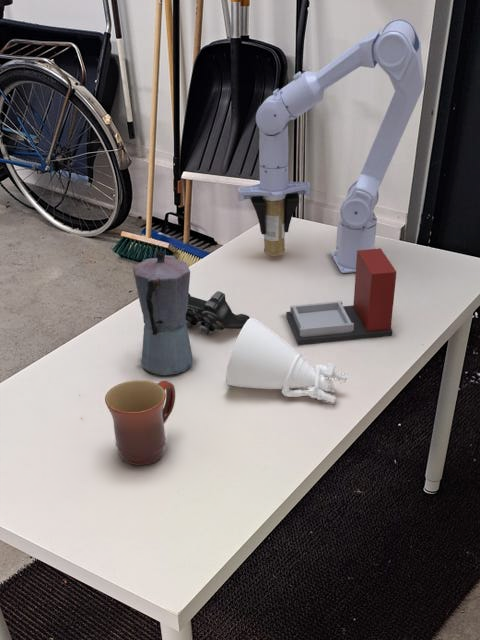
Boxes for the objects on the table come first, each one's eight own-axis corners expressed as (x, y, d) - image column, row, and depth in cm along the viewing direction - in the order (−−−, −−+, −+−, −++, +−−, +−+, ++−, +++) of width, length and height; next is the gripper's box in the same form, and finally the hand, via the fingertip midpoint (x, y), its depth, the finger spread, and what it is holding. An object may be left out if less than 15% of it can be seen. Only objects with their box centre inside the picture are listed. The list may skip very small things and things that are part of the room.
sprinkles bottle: (289, 251, 180) (290, 187, 171) (274, 258, 178) (274, 193, 169) (274, 245, 182) (273, 181, 174) (258, 252, 180) (258, 187, 171)
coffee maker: (286, 316, 161) (286, 255, 153) (375, 307, 163) (381, 246, 155) (297, 345, 153) (299, 282, 145) (392, 335, 154) (398, 272, 146)
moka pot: (201, 344, 154) (194, 235, 141) (189, 390, 142) (180, 277, 129) (149, 342, 155) (137, 234, 141) (133, 388, 143) (118, 275, 130)
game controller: (167, 329, 164) (147, 296, 155) (185, 302, 165) (166, 267, 156) (237, 352, 156) (220, 319, 148) (255, 323, 158) (239, 288, 149)
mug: (142, 478, 125) (135, 420, 118) (101, 456, 129) (92, 399, 122) (197, 440, 132) (193, 383, 125) (156, 421, 136) (150, 364, 129)
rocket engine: (356, 346, 133) (250, 306, 135) (328, 414, 132) (222, 373, 134) (354, 368, 144) (256, 331, 146) (328, 430, 143) (230, 392, 146)
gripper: (240, 173, 164) (242, 242, 173) (314, 167, 166) (312, 236, 175) (235, 161, 170) (237, 228, 179) (306, 155, 171) (305, 222, 180)
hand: (274, 231), depth 177 cm, fingers closed on sprinkles bottle, 4 cm apart
